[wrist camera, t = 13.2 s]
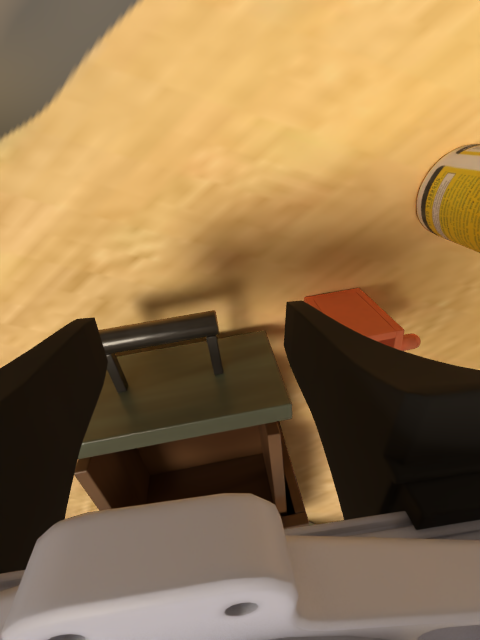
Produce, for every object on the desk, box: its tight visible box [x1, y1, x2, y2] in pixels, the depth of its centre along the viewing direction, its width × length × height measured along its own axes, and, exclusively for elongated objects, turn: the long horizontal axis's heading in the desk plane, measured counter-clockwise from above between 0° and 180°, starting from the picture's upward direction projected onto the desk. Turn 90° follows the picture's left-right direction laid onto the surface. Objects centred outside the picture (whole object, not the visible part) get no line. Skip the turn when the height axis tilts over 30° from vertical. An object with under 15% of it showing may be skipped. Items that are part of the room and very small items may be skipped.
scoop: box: [304, 288, 421, 351], centre depth 21 cm, size 6×4×6 cm
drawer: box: [74, 310, 292, 517], centre depth 22 cm, size 18×13×7 cm
